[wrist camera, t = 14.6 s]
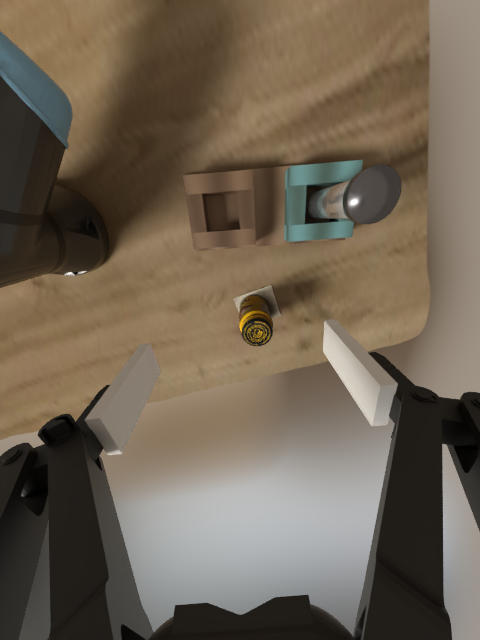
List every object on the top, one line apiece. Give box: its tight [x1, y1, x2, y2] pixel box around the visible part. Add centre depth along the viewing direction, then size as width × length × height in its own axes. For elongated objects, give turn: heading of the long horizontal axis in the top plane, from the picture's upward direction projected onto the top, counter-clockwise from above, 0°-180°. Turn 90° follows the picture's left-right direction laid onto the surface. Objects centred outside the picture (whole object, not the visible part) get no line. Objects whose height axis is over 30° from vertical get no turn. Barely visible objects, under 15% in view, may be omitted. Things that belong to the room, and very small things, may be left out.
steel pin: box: [305, 164, 401, 224], centre depth 29 cm, size 5×5×18 cm
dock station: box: [183, 160, 363, 251], centre depth 36 cm, size 28×12×5 cm, turn 94°
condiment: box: [233, 285, 281, 346], centre depth 41 cm, size 7×8×12 cm
